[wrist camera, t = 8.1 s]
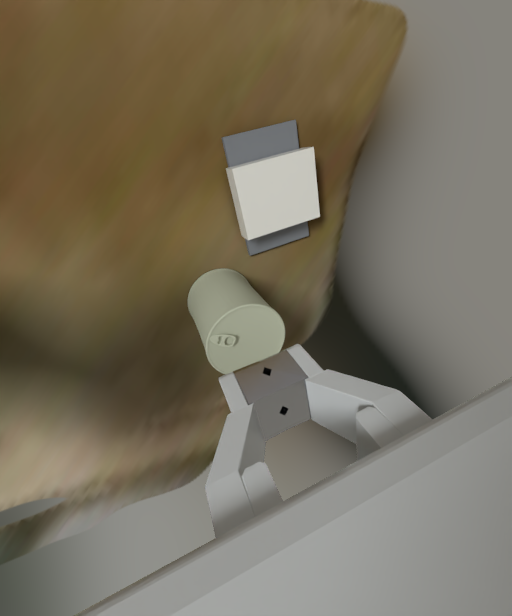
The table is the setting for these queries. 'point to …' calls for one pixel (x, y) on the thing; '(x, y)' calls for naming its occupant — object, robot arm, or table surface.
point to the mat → (258, 147)
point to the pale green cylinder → (233, 320)
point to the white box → (275, 192)
